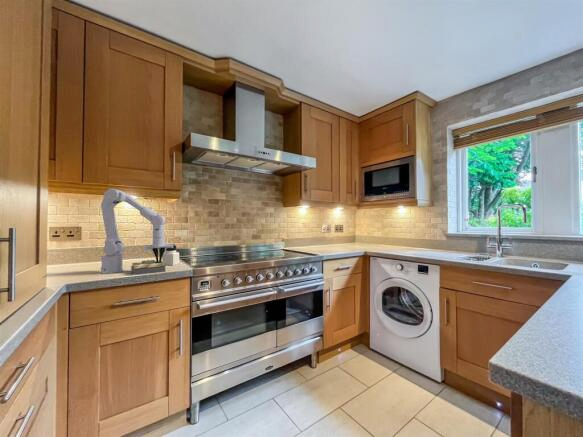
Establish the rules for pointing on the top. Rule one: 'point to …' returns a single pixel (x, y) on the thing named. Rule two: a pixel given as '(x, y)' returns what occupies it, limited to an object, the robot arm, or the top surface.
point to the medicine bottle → (171, 256)
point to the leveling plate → (147, 264)
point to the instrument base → (147, 270)
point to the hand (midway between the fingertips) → (158, 261)
